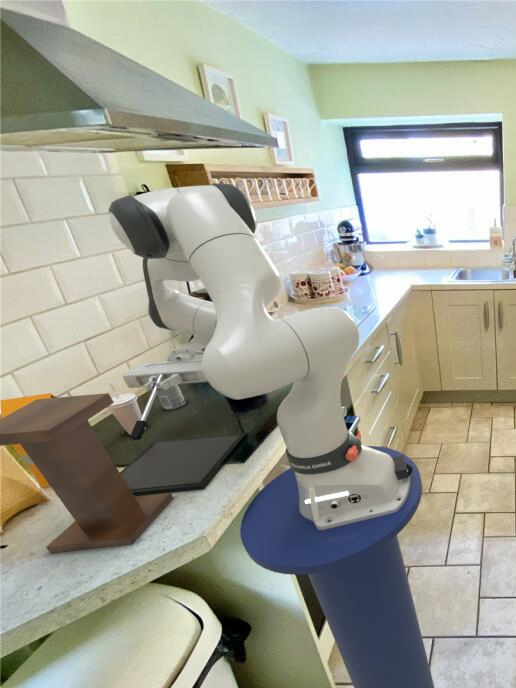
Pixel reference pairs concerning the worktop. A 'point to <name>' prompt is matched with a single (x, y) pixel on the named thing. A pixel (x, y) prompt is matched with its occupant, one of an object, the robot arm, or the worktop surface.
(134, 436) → the stylus
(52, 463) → the brown wooden pedestal
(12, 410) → the orange juice
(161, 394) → the energy drink
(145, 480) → the tablet
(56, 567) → the worktop surface
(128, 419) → the smoothie
